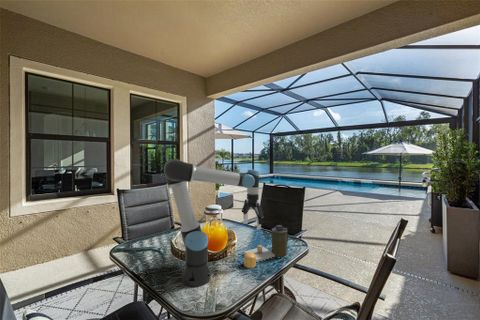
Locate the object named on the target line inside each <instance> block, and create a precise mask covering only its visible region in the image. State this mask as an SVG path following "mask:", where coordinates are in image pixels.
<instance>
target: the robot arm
mask: <svg viewBox="0 0 480 320" xmlns="http://www.w3.org/2000/svg"><path fill="white" fill-rule="evenodd" d="M163 173H164V176H165V181H166V183H167V186H168V187H171V191H172V195H173V198H174V203H175V206H176V209H177V213H178V217H179V221H180V223H181V224H180V225H181V227H180V230H179V231H180V235H181V239H182V243H183V246H184V249H185V262H184V264H185V265H184V267H183V272H182V274H181V282H182V284H184V285H185V286H188V287H200V286H203V285H206V284H208V283H209V282H210V281H211V279H212V276H211V275H212V273H211V270H210V266H209V262H208V261H209V256H208V255H209V251H208V250H209V236H208V234H207V233H205V232H203V230H202V227H201V224H200V222H198V221H197V218H196V215H195V211H194V207H193V204H192V200H191V196H190V192H189V189H188V185H187V183H191V182H192V181H194V182H195V181H196V182H202V183H210V184H211V183H212V184H217V185H218V184H219V185H225V186H235V187H241V188H242V187H243V188H245V189H246V193H247V194H246V199H244V203H243V206H242V209H241V213H242V214H243V225H247V224H248V222H249V221H248V219H249V213H248V212H249V211H250V209H253V211H254V212H255V215H256V216H257V219H256V230H257V231H258V230H261V229H262V219H265V216H264V212H263V211H264V210H263V207H262V202H258V200H259V189H260V171H259V170H258V169H247V172H236V171H228V170H221V169H214V168H209V167H203V166H202V167H201V166H197V165H195V164H194V163H190V162H185V161H182V160H180V159H178V158H177V159H176V158H174V159H172V158H171V159H169V160H167V161H166V162H165V164H164V166H163Z"/></svg>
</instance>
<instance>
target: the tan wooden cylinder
mask: <svg viewBox="0 0 480 320" xmlns="http://www.w3.org/2000/svg"><path fill="white" fill-rule="evenodd" d="M243 256H244V257H243V266H244V267H246V268H248V269H253V268H256V267H255V266H256V265H257V263H256V254H254V253H246V254H244V253H243Z"/></svg>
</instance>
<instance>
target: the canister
mask: <svg viewBox="0 0 480 320" xmlns="http://www.w3.org/2000/svg"><path fill="white" fill-rule="evenodd" d="M288 232H289V229H288V228H287V227H284V226H283V225H281V224H278V225H275V226H274V227H273V228H271V251H272V253H273V254H275V257H284V256H286V255H287V254H288V251H287V250H288V241H289V239H288V238H289V237H288V236H289V235H288V234H289V233H288ZM287 256H288V255H287ZM275 257H274V258H275Z"/></svg>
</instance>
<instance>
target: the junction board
mask: <svg viewBox="0 0 480 320" xmlns="http://www.w3.org/2000/svg"><path fill="white" fill-rule="evenodd" d="M246 253H254V254H256V262H258V263H260V262H259V261H261V262H264V261H267V260H266V259H268V260H270V259H269V258H271V259H273V258H272V257H274V258H275V254H273V253H272V250H270V249H269V248H266V247H264V246H263V245H261V244H258V245H257V247H256V248H253V249H252V248H251V249H249V250H245V251H243V255H244V254H246ZM263 260H264V261H263Z"/></svg>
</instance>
